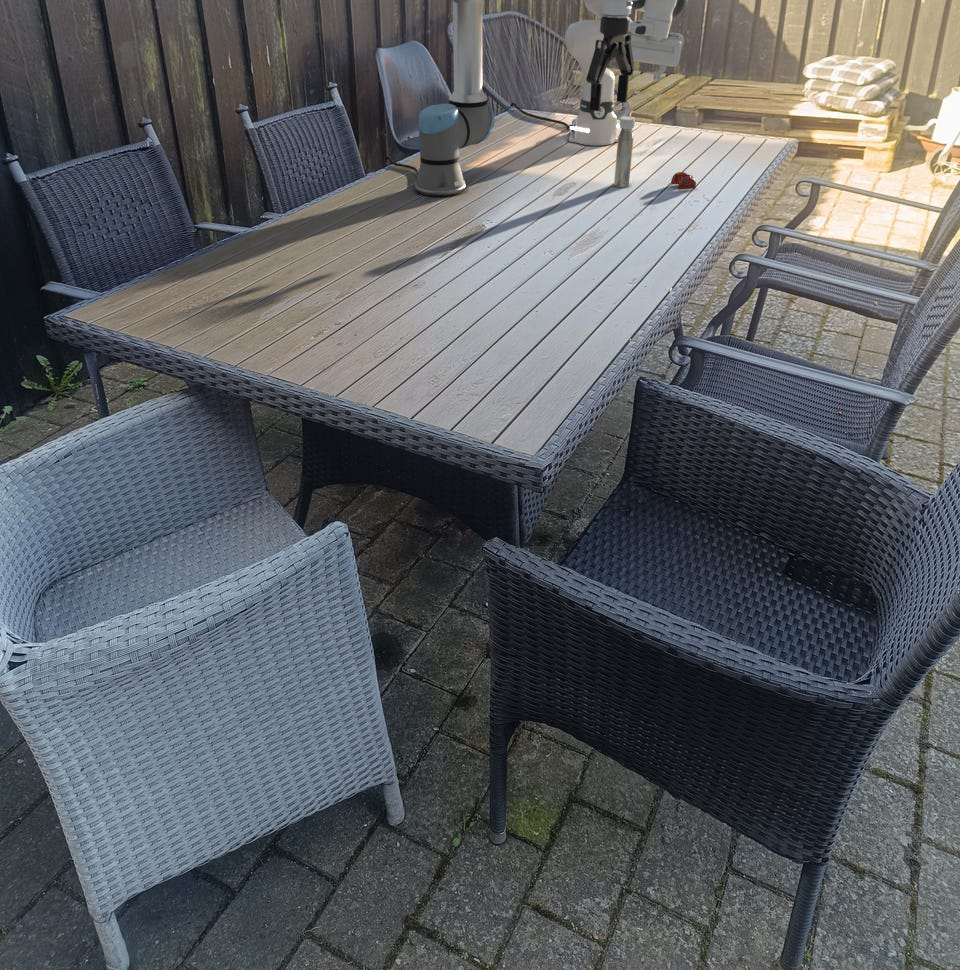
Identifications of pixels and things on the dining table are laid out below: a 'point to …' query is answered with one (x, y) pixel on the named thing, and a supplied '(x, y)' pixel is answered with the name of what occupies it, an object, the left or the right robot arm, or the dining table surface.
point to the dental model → (683, 180)
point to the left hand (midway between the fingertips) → (608, 106)
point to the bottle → (623, 158)
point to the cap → (627, 122)
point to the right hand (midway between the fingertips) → (642, 78)
